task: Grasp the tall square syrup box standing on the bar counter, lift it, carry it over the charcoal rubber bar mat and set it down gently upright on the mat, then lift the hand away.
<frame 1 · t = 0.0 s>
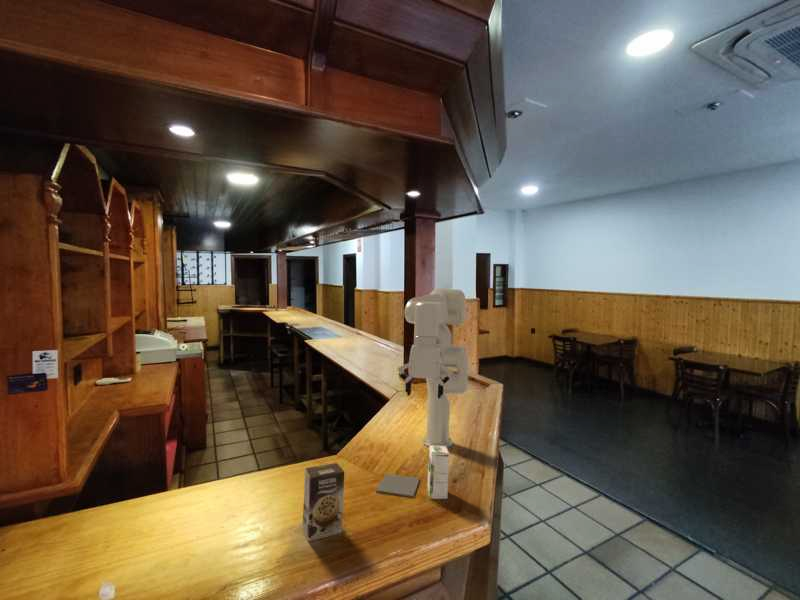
hand: (424, 396, 118), 31 cm above the counter, tool pointing down, fingers open, 9 cm apart
bar mat: (398, 485, 124), on the counter
syrup box: (437, 495, 119), on the counter
cookie box: (322, 531, 99), on the counter
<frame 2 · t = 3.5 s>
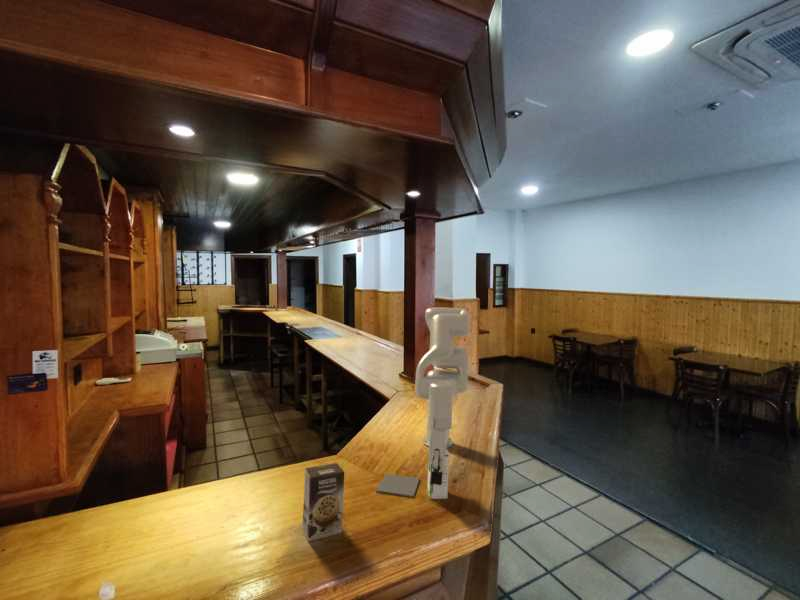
hand: (437, 477, 119), 5 cm above the counter, tool pointing down, fingers closed on syrup box, 6 cm apart
syrup box: (437, 495, 119), on the counter, touching gripper
everything else where it was.
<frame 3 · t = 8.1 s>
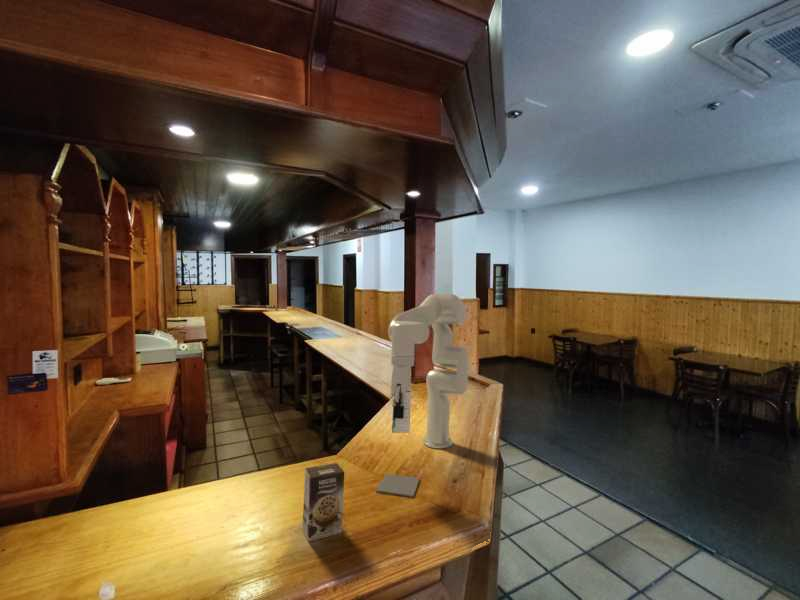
hand: (401, 414, 124), 24 cm above the counter, tool pointing down, fingers closed on syrup box, 6 cm apart
syrup box: (400, 430, 124), point 18 cm above the counter, touching gripper
everything else where it was.
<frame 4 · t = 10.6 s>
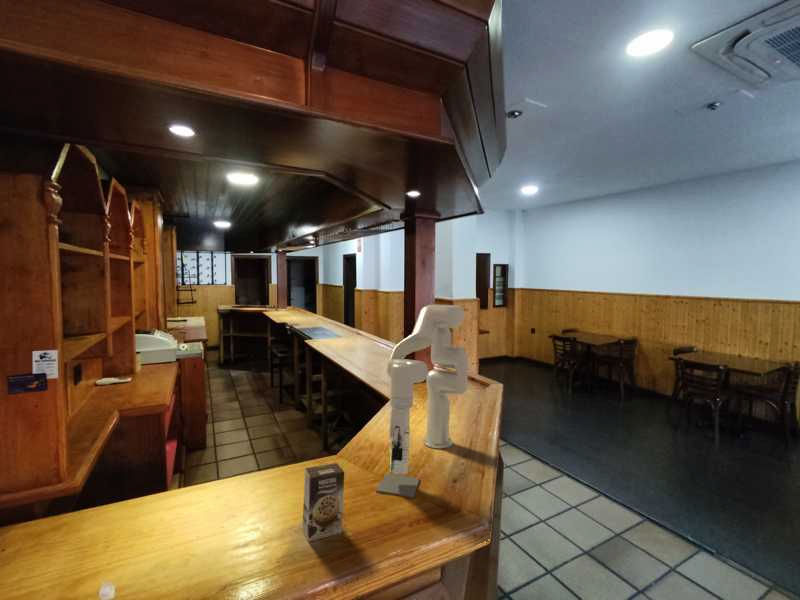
hand: (399, 454, 124), 10 cm above the counter, tool pointing down, fingers closed on syrup box, 6 cm apart
syrup box: (399, 471, 124), point 5 cm above the counter, touching gripper
everything else where it was.
when the fingers open (7 cm above the counter, at t = 12.6 s): syrup box stays where it is, resting on bar mat.
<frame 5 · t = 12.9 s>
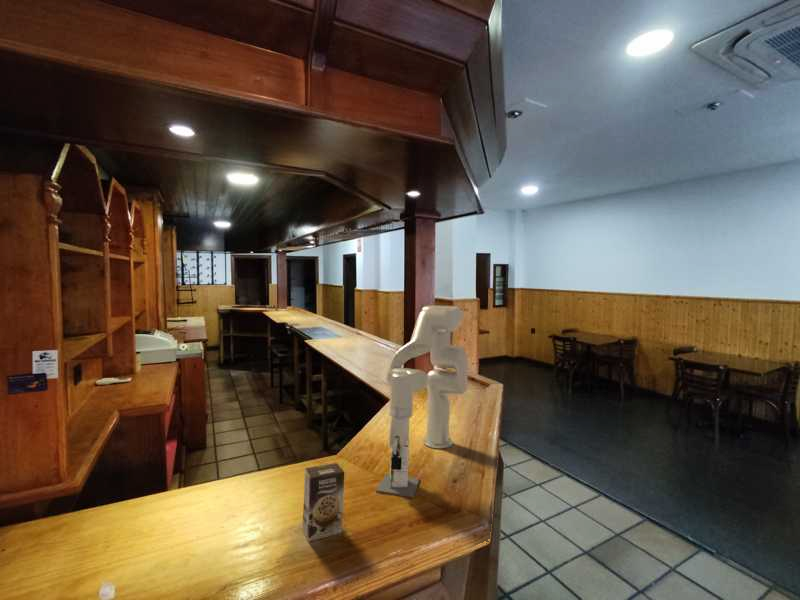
hand: (399, 462, 124), 8 cm above the counter, tool pointing down, fingers open, 9 cm apart
syrup box: (398, 484, 124), resting on bar mat
everything else where it was.
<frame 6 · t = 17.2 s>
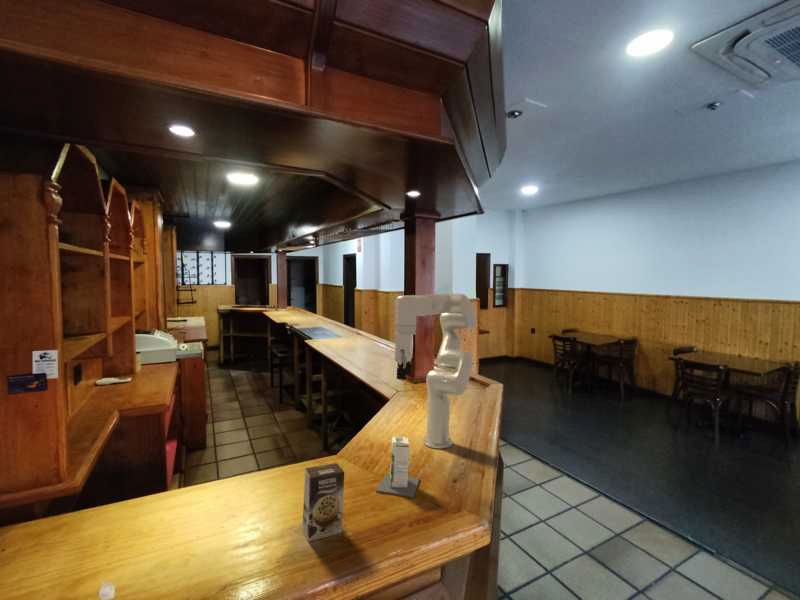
hand: (404, 376, 137), 33 cm above the counter, tool pointing down, fingers open, 9 cm apart
nothing on the counter moved.
at the end: syrup box inside the target area on the bar mat (0.2 cm from its centre), point 0.4 cm above the bar mat's base; syrup box tilted 0°; the gripper is holding nothing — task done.
